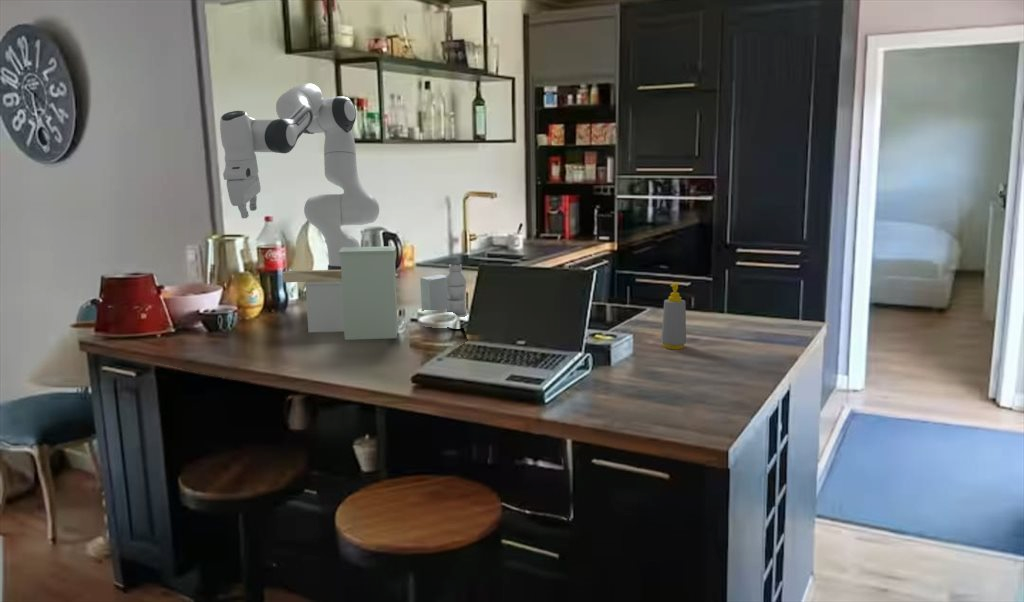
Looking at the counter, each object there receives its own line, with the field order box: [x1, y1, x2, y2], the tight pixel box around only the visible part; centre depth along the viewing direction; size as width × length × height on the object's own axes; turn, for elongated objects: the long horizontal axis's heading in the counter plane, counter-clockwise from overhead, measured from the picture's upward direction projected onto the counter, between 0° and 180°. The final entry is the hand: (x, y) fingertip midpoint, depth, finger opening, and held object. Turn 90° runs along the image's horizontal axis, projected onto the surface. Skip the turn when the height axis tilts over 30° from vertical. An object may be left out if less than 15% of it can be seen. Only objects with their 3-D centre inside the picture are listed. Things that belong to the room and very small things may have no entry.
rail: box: [282, 269, 342, 283], centre depth 245 cm, size 3×24×3 cm, turn 96°
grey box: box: [304, 281, 344, 334], centre depth 247 cm, size 10×12×15 cm
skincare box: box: [419, 273, 448, 312], centre depth 254 cm, size 8×6×15 cm
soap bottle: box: [660, 281, 687, 350], centre depth 220 cm, size 7×7×18 cm
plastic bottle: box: [445, 263, 468, 317], centre depth 244 cm, size 6×7×20 cm
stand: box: [339, 245, 399, 341], centre depth 236 cm, size 10×16×26 cm, turn 96°
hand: (249, 213), depth 241 cm, fingers open, 8 cm apart
